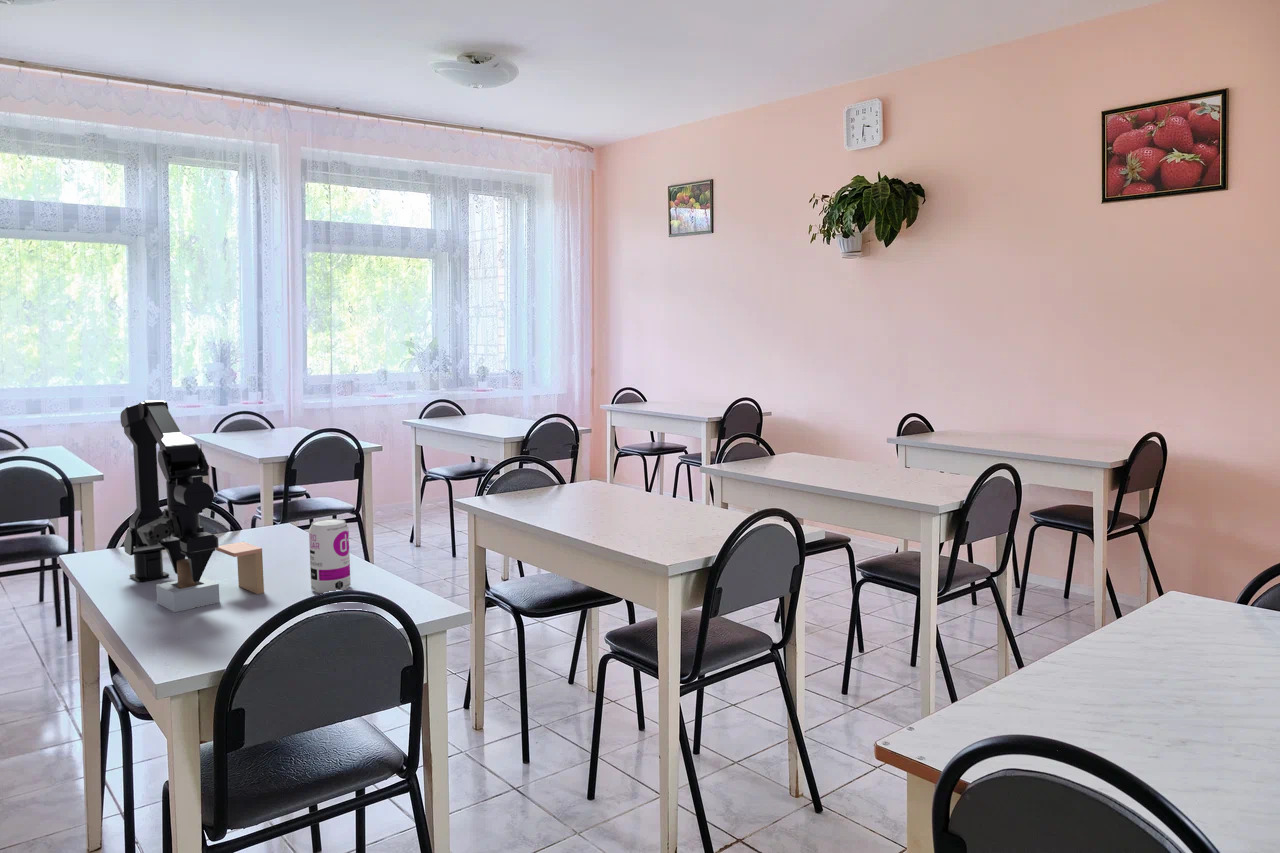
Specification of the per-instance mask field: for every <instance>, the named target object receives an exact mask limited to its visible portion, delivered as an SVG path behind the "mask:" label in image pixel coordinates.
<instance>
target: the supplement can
mask: <svg viewBox="0 0 1280 853" xmlns="http://www.w3.org/2000/svg"><path fill="white" fill-rule="evenodd" d="M349 533H350V530H349V526H348V524H347V523H346V520H345V519H341V518H325V519H324V518H323V519H319V520H314V521H312V522H311V525H310V527H309V529H308V538H309V539H308V541H309V545H308V546H309V560H310V561H309V567H310V587H311V590H312V591H313V592H314V593H316V594H320V593H324V592H329V591H336V590H345V591H347V590H348V589H349V588H350V586H351V565H350V564H351V563H350V562H351V561H350V560H351V559H350V558H351V557H350V537H349V536H350V534H349ZM346 589H347V590H346ZM317 592H318V593H317Z"/></svg>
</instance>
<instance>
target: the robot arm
mask: <svg viewBox="0 0 1280 853" xmlns="http://www.w3.org/2000/svg"><path fill="white" fill-rule="evenodd" d="M119 417H120V424H121V426H122V428H123V432H124V435H125V436H126V437H127V438H128V440H129V442H130V443H132V445H133V449H132V450H133V463H134V466H133V467H134V481H135V482H134V485H135V501H136V502H135V503H136V504H135V505H136V508H135V510H133V513H132V515H131V516H130V518H129V519H128V522H129V524H128V525H129V527H128V528H127V531H126V532H125V533H126V535H125V538H124V541H123V547H124V553H126V554H127V555H128V556H133V562H134V563H133V564H134V573H132V574H129V578H131V579H132V580H135V581H137V582H140V583H141V582H147V581H151V580H157V579H161V578H168V577H170V573H169V572H168V573H167V572H166V571H164V563H163V560H164V559H163V551H165V550H166V551H165V552H166V553H167V555H168V558H169V560H170V561H169V562H170V563H171V566H172V568H173V572H174V574H175V575H177V561H178V560H182V559H186V558H187V559H188V560H189V565H190V570H191V574H192V578H193V581H194V582H197V581H199V580H200V578H201V576H202V577H203V574H204V571H205V570H206V567H207V566H208V562H209V560H210V559H211V557H212V555H213V553H214V552H215V551H217V550H216V548H218V547H219V546H220V545H219V537H217V536H216V535H215V534H213V533H210V532H207V531H205V530H204V526H202V525H200V514H202V513H203V512H204V510H205V509H207V508H209V507H210V506H211V504H212V503H213V501H214V498H215V492H214V490H213V488H212V486H210V485H209V484H208V483H206V482H204V478H203V477H207V476H208V477H209V469H210V465H209V463H208V461H207V459H206V456H205V454H204V452H203V450H202V447H200V446H199V445H198V442H196V441H195V439H193V438H192V437H191V436H189V435H185V434H183V432H181V430H180V428H179V426H178V424H177V423H176V421H175V419H174V418H173V416H172V414H171V412H170V411H169V405H168V403H167V401H165V400H162V399H159V400H158V399H157V400H156V399H155V400H144V401H142V402H139V403H137V404H135V405H130V406H129V405H128V406H126V407H125V408H124V409H123V410H122V411H120V416H119ZM157 444H158V445H159V450H158V452H157ZM158 466H159V468H160V471H161V472H162V475H163V477H164V479H165V480H166V482H165V483H166V486H165V487H166V502H167V508H163V510H161V507H160V494H159V492H160V491H159V474H158V473H159V472H158Z"/></svg>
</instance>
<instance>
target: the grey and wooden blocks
mask: <svg viewBox="0 0 1280 853" xmlns="http://www.w3.org/2000/svg"><path fill="white" fill-rule="evenodd" d="M215 551H217V552H220V553H222V554H225V555H228V556H230V557H233V558H236V559H237V578H238V587H240V588H243V589H245V590H247V591H250V593H251V592H252V593H254V594H256V595H260V594H264V593H265V583H264V564H263V563H264V562H263V548H262V547H260V546H256V545H254V544H251V543H249V542H245V541H241V542H233V543H229V544H223V545H219V547H218V548H216V550H215ZM155 587H156V589H155V590H156V602H157V603H156V604H158V605H159V606H162V607H163V608H165V609H168V610H169V611H170V612H173V613H178V612H182V611H183V612H184V611H186V610H191V609H195V607H197V608H200V606H201V607H204V606H205V605H206V606H210V605H213V604H218V603H220V601H221V600H220V599H221V598H220V583H219V582H215V581H213V580H211V579H209V578H207V577H204V576H203V575H202V576H201V578H200V580H199V581H197V582H196V586H192V587H187V588H182V589H179V588H178V579H177V580H174V581H168V582H162V583H157V584H155ZM209 604H210V605H209Z"/></svg>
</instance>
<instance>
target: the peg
mask: <svg viewBox="0 0 1280 853" xmlns="http://www.w3.org/2000/svg"><path fill="white" fill-rule="evenodd" d="M176 575H177V576H176V577H177V580H178V588H179V589H182V588H187V587H192V586H196V582H194V581H193V578H192V574H191V570H190V565H189V560H188V558H185V559H182V560H178V561H177V574H176Z"/></svg>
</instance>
